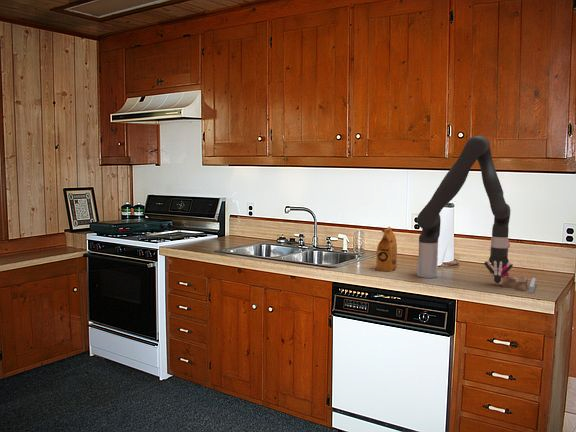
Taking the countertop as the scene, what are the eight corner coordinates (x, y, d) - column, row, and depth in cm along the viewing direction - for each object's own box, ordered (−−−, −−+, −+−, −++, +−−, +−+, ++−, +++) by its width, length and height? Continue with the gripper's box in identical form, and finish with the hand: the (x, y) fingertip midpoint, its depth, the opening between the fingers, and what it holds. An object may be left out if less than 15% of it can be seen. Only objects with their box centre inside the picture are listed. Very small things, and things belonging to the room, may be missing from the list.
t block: (501, 288, 252) (501, 279, 252) (504, 282, 263) (504, 274, 262) (525, 290, 248) (525, 282, 247) (527, 285, 258) (527, 276, 258)
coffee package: (373, 270, 290) (373, 228, 287) (381, 266, 301) (382, 226, 298) (391, 272, 285) (392, 230, 282) (399, 268, 296) (400, 227, 293)
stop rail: (529, 293, 244) (529, 286, 244) (532, 284, 260) (532, 277, 260) (532, 293, 243) (533, 286, 243) (535, 284, 259) (535, 278, 259)
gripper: (483, 246, 256) (481, 282, 258) (514, 248, 250) (511, 286, 252) (485, 243, 263) (483, 279, 265) (515, 246, 257) (513, 282, 259)
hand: (497, 282), depth 258 cm, fingers closed
